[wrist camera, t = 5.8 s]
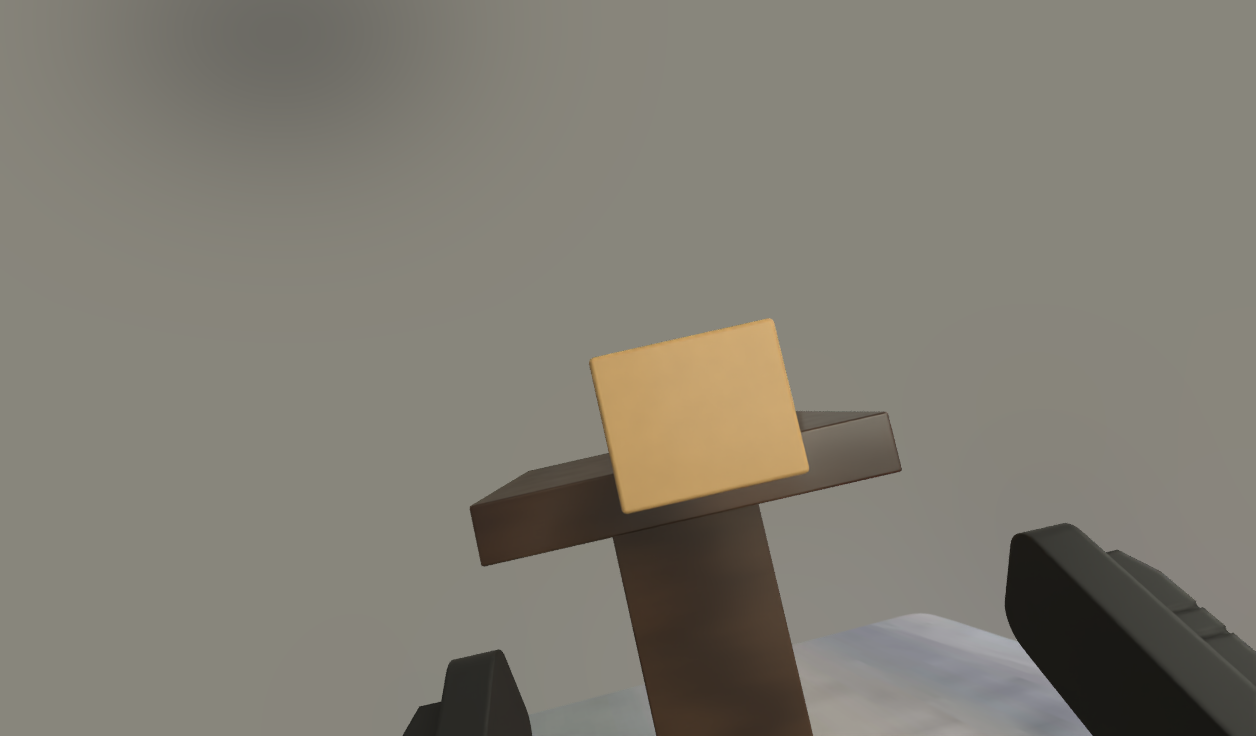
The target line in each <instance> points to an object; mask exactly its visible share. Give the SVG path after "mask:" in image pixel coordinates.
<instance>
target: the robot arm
mask: <svg viewBox="0 0 1256 736" xmlns="http://www.w3.org/2000/svg"><path fill="white" fill-rule="evenodd" d="M1005 611H1006V616H1007V619H1008V622H1009V624H1010V627H1011V629H1012V632H1013V634H1014V635H1015V637H1016V639H1017V641H1018V642H1019V644H1020V645H1021V646H1022V648H1023V649H1024V650H1025V651H1026V653H1027V654H1028V655H1029V656H1030V658H1031V659H1032V660H1033V662H1034V663H1035V664H1036V665H1037V667H1038V668H1039V669H1040V670H1041V672H1042V673H1043V674H1044V675H1045V677H1046V678H1047V679H1048V680H1049V682H1050V683H1051V684H1052V685H1053V687H1054V688H1055V689H1056V690H1057V692H1058V693H1059V694H1060V695H1061V697H1062V698H1063V699H1064V700H1065V702H1066V703H1067V704H1068V705H1069V707H1070V708H1071V709H1072V710H1073V712H1074V713H1075V714H1076V715H1077V717H1078V718H1079V719H1080V720H1081V722H1082V723H1083V724H1084V725H1085V727H1086V728H1087V729H1088V730H1089V732H1090V733H1091V734H1092V735H1093V736H1256V651H1254V650H1253V649H1252V648H1251V647H1250V646H1248V645H1247V644H1246V643H1245V642H1244V641H1242V640H1241V639H1240V638H1239V637H1238V636H1237V635H1235V634H1234V633H1229V632H1228V631H1227V630H1226V626H1225V625H1223V624H1222V623H1221V622H1220V621H1219V620H1218V619H1216V618H1215V617H1214V616H1213V615H1211V614H1210V613H1209V612H1208V611H1207V610H1206V609H1205V608H1203V607H1202V608H1199V607H1198V606H1197V604H1196V601H1195V600H1194V599H1193V598H1192V597H1190V596H1189V595H1188V594H1187V593H1185V592H1184V591H1183V590H1182V589H1181V588H1180V587H1178V586H1177V585H1176V584H1175V583H1174V582H1172V581H1171V580H1170V579H1169V578H1168V577H1167V576H1165V575H1164V574H1163V573H1162V572H1160V571H1159V570H1156V569H1154V568H1153V567H1151V566H1149V565H1147V564H1145V563H1143V562H1141V561H1139V560H1137V559H1135V558H1133V557H1131V556H1129V555H1127V554H1125V553H1123V552H1121V551H1119V550H1115V551H1110V552H1105V551H1103V550H1102V549H1101V548H1100V547H1099V546H1098V545H1097V544H1096V543H1095V542H1093V541H1092V540H1091V539H1090V538H1089V537H1088V536H1087V535H1085V534H1084V533H1083V532H1082V531H1081V530H1079V529H1078V528H1077V527H1075V526H1074V525H1071V524H1067V523H1063V524H1058V525H1054V526H1049V527H1045V528H1041V529H1036V530H1032V531H1028V532H1023V533H1019V534H1016V535H1014V537H1013V538H1012V540H1011V545H1010V555H1009V566H1008V576H1007V586H1006V595H1005ZM403 736H532V731H531V725H530V720H529V716H528V713H527V710H526V707H525V705H524V702H523V700H522V697H521V695H520V692H519V690H518V687H517V685H516V682H515V680H514V677H513V675H512V673H511V670H510V668H509V665H508V663H507V660H506V658H505V656H504V654H503V652H502V651H501V650H495V651H490V652H486V653H481V654H477V655H473V656H468V657H464V658H459V659H455V660H452V661H451V662H450V663H449V665H448V668H447V672H446V677H445V683H444V689H443V695H442V701H441V702H438V703H433V704H429V705H424V706H420V707H419V708H418V710H417V712H416V713H415V715H414V717H413V718H412V720H411V722H410V724H409V725H408V727H407V729H406V731H405V732H404V734H403Z"/></svg>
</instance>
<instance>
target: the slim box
mask: <svg viewBox="0 0 1256 736" xmlns="http://www.w3.org/2000/svg"><path fill="white" fill-rule="evenodd" d="M589 365H590V370H591V374H592V379H593V383H594V388H595V392H596V397H597V401H598V406H599V410H600V415H601V419H602V424H603V428H604V433H605V438H606V442H607V446H608V451H609V456H610V460H611V465H612V469H613V474H614V478H615V483H616V487H617V492H618V496H619V501H620V505H621V510H622V511H623V513H624V514H630V513H635V512H639V511H643V510H648V509H652V508H657V507H661V506H665V505H670V504H674V503H679V502H683V501H687V500H692V499H696V498H701V497H705V496H709V495H714V494H718V493H723V492H727V491H731V490H736V489H740V488H744V487H749V486H753V485H758V484H762V483H766V482H771V481H775V480H780V479H784V478H788V477H793V476H797V475H802V474H806V473H807V472H808V471H809V465H808V461H807V456H806V452H805V448H804V444H803V440H802V436H801V432H800V428H799V423H798V419H797V415H796V411H795V407H794V403H793V399H792V394H791V390H790V386H789V382H788V378H787V374H786V370H785V366H784V361H783V357H782V353H781V349H780V345H779V341H778V337H777V332H776V328H775V324H774V321H773V320H772V319H763V320H759V321H754V322H750V323H745V324H741V325H736V326H732V327H727V328H723V329H718V330H714V331H709V332H706V333H701V334H696V335H692V336H687V337H683V338H678V339H674V340H670V341H665V342H661V343H656V344H651V345H647V346H643V347H638V348H634V349H629V350H625V351H620V352H616V353H611V354H607V355H602V356H598V357H594V358H592V359H590V362H589Z"/></svg>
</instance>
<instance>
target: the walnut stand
mask: <svg viewBox="0 0 1256 736" xmlns="http://www.w3.org/2000/svg"><path fill="white" fill-rule="evenodd" d="M796 415H797V419H798V423H799V428H800V432H801V436H802V440H803V444H804V448H805V452H806V456H807V461H808V465H809V471H808V472H807V473H806V474H802V475H797V476H793V477H788V478H784V479H780V480H775V481H771V482H766V483H762V484H758V485H753V486H749V487H744V488H740V489H736V490H731V491H727V492H723V493H718V494H714V495H709V496H705V497H701V498H696V499H692V500H687V501H683V502H679V503H674V504H670V505H665V506H661V507H657V508H652V509H648V510H643V511H639V512H635V513H630V514H624V513H623V511H622V510H621V505H620V501H619V496H618V492H617V487H616V483H615V478H614V474H613V469H612V465H611V460H610V456H609V453H607V454H602V455H598V456H594V457H589V458H584V459H580V460H576V461H571V462H567V463H562V464H558V465H554V466H549V467H545V468H540V469H536V470H531V471H528V472H526V473H525V474H523V475H521V476H520V477H518V478H516V479H515V480H513V481H511V482H510V483H508V484H506V485H505V486H503V487H501V488H500V489H498V490H496V491H495V492H493V493H491V494H490V495H488V496H486V497H485V498H483V499H481V500H480V501H478V502H477V503H475V504H473V505H472V506H470V513H471V517H472V522H473V527H474V532H475V537H476V541H477V547H478V551H479V556H480V561H481V565H482V566H488V565H493V564H497V563H501V562H506V561H511V560H515V559H519V558H524V557H528V556H532V555H537V554H541V553H546V552H550V551H554V550H559V549H563V548H568V547H572V546H576V545H580V544H585V543H589V542H594V541H598V540H603V539H607V538H611V537H613V541H614V546H615V550H616V555H617V559H618V564H619V568H620V572H621V577H622V582H623V586H624V591H625V595H626V600H627V604H628V609H629V613H630V618H631V623H632V627H633V632H634V636H635V641H636V645H637V650H638V654H639V659H640V663H641V668H642V672H643V677H644V682H645V686H646V691H647V695H648V700H649V705H650V709H651V714H652V718H653V723H654V727H655V732H656V736H813V733H812V729H811V724H810V720H809V716H808V712H807V708H806V703H805V699H804V695H803V691H802V686H801V682H800V678H799V674H798V669H797V665H796V661H795V657H794V652H793V648H792V644H791V640H790V635H789V632H788V627H787V623H786V619H785V614H784V610H783V606H782V602H781V597H780V593H779V589H778V584H777V580H776V576H775V572H774V568H773V564H772V559H771V555H770V551H769V546H768V542H767V538H766V534H765V529H764V526H763V521H762V517H761V512H760V508H759V504H760V503H764V502H769V501H774V500H778V499H782V498H786V497H791V496H795V495H800V494H804V493H808V492H813V491H817V490H822V489H826V488H830V487H835V486H839V485H843V484H848V483H852V482H857V481H861V480H866V479H869V478H874V477H879V476H883V475H887V474H891V473H896V472H900V471H901V470H902V468H901V464H900V460H899V456H898V452H897V448H896V444H895V440H894V436H893V432H892V428H891V424H890V420H889V416H888V413H887V412H832V411H831V412H830V411H825V412H824V411H823V412H821V411H819V412H818V411H814V412H812V411H806V412H805V411H796Z"/></svg>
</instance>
